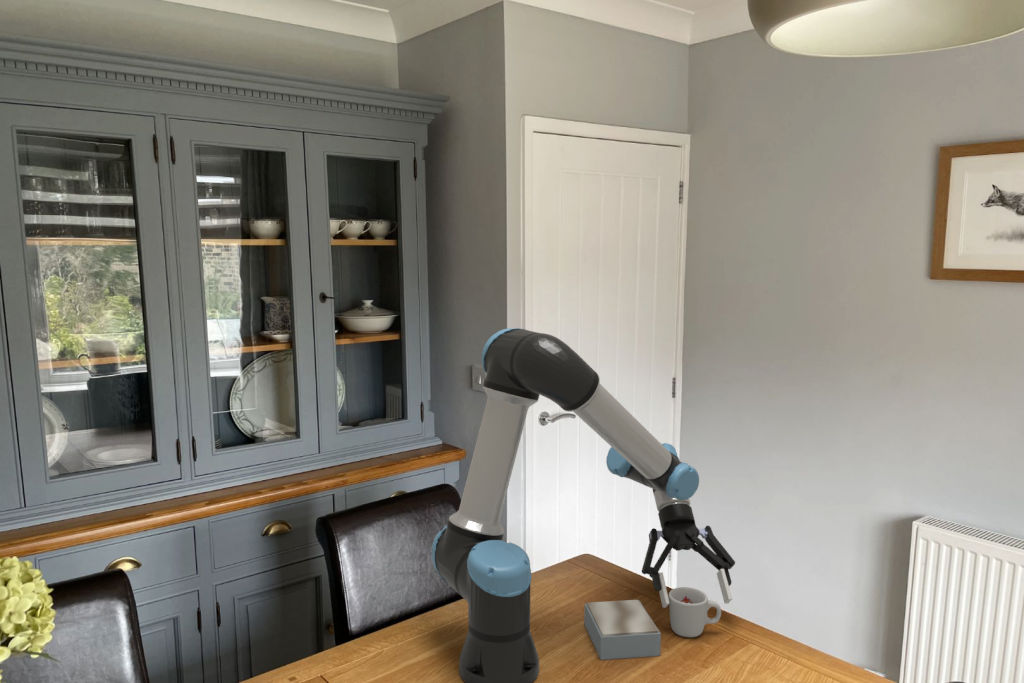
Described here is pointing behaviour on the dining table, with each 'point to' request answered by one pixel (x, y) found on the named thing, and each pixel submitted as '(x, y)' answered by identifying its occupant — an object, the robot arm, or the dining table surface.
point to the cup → (690, 611)
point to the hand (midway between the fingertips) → (697, 603)
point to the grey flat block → (621, 629)
